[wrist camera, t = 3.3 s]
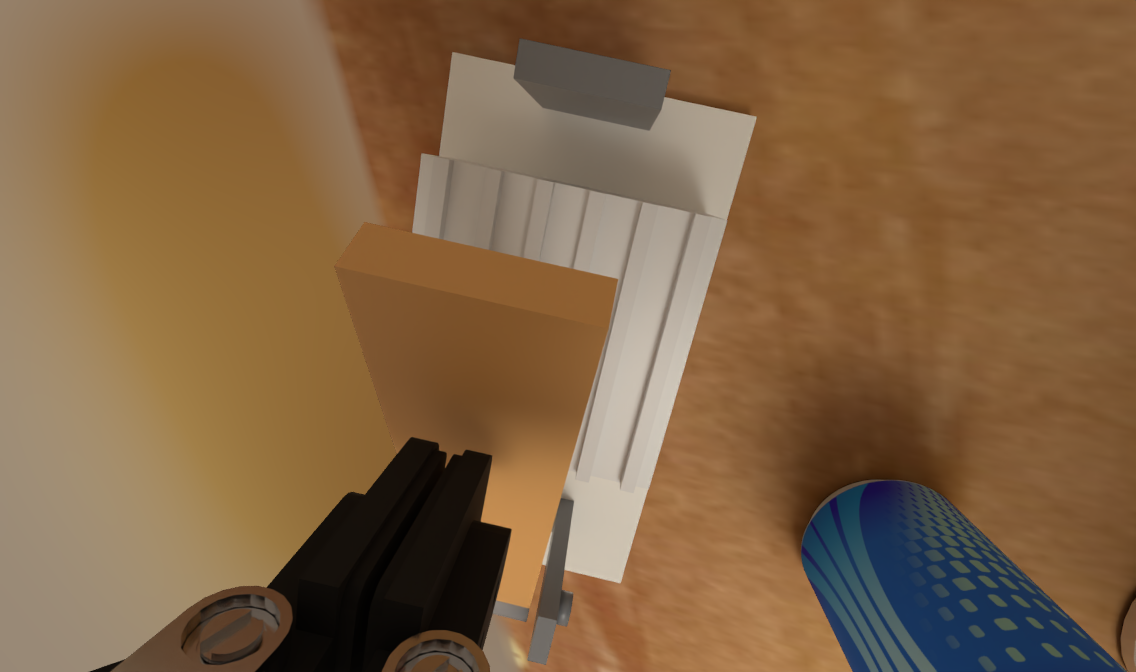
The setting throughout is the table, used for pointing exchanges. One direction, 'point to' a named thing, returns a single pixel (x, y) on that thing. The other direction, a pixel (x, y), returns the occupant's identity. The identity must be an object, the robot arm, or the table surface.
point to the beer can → (932, 590)
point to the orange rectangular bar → (482, 369)
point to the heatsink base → (610, 163)
